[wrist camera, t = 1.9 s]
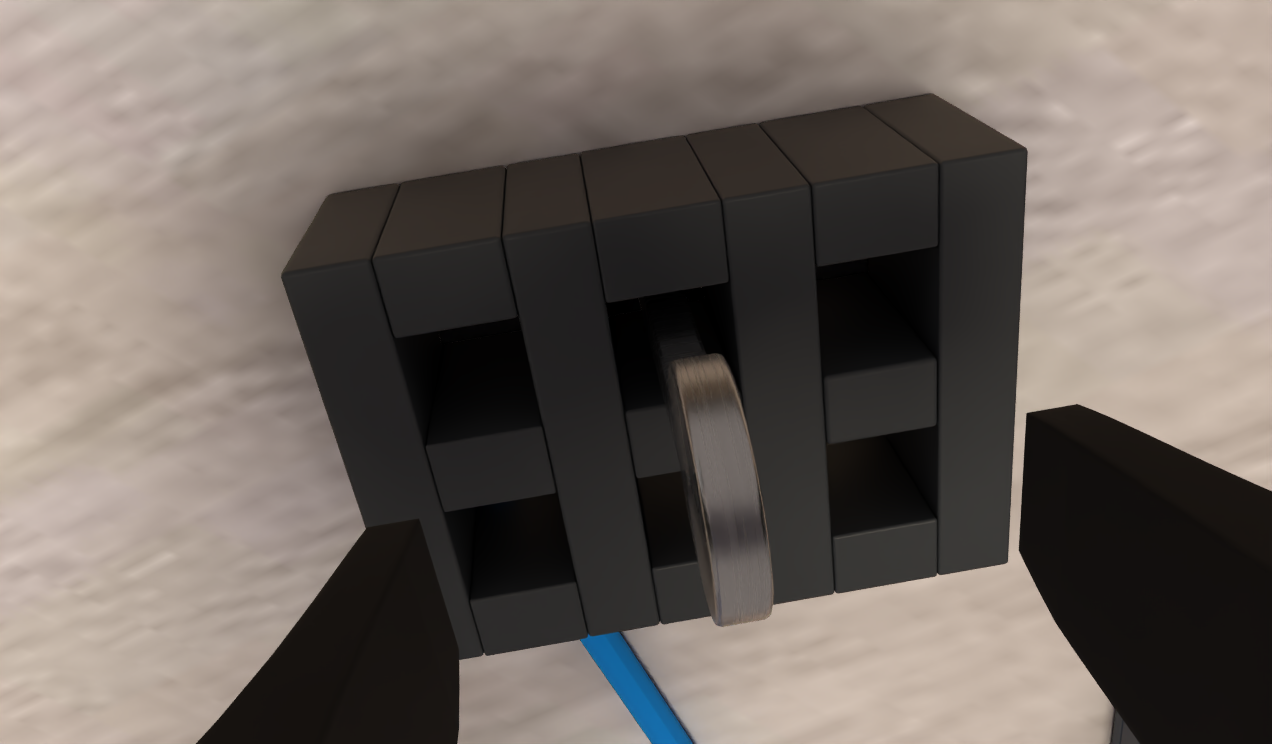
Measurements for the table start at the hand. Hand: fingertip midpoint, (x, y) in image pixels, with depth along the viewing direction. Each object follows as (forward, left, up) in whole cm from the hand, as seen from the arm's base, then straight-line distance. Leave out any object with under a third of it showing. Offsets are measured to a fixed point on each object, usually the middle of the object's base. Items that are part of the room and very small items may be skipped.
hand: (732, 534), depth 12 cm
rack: (0, -2, -9) cm, 9 cm away
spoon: (0, 0, -9) cm, 9 cm away
